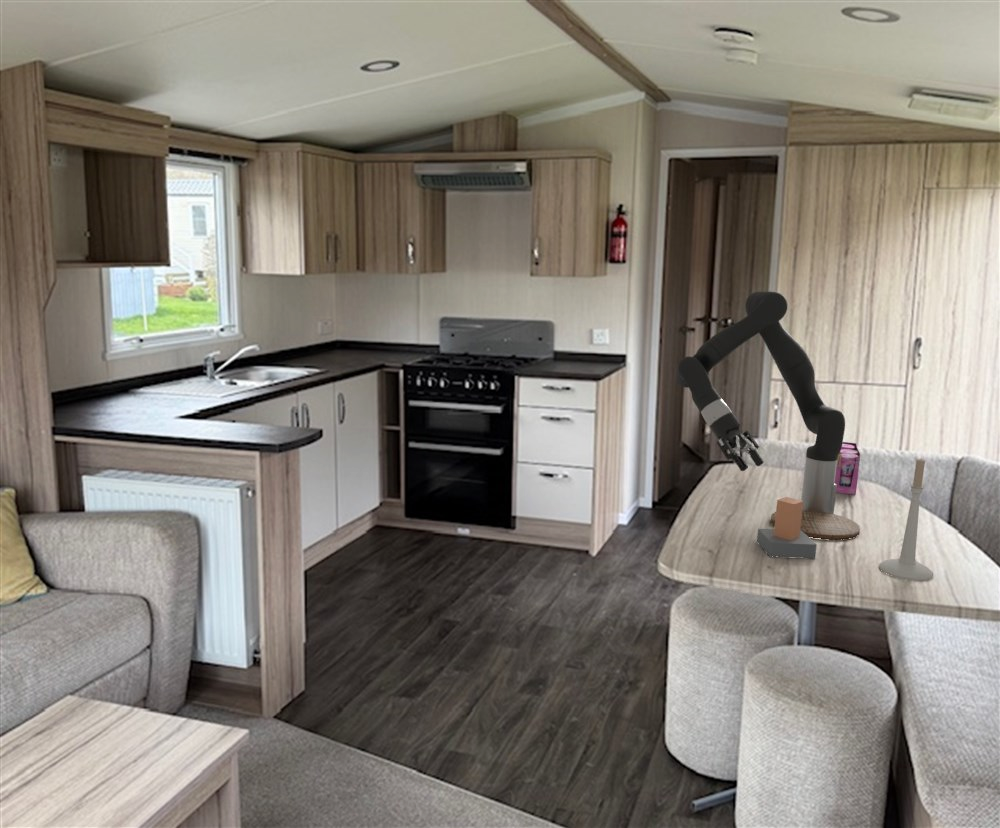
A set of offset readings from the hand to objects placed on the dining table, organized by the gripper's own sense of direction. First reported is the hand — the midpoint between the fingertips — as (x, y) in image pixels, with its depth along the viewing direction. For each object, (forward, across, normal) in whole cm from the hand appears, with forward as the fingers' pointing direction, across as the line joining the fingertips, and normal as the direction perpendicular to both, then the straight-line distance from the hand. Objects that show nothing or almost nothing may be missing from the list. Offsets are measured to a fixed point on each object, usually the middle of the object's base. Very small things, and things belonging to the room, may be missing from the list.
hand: (753, 467), depth 250 cm
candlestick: (+43, +9, -14) cm, 46 cm away
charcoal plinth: (+23, -1, +6) cm, 24 cm away
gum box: (+10, +82, +22) cm, 85 cm away
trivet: (+21, +27, +10) cm, 35 cm away
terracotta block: (+20, -1, +3) cm, 20 cm away
